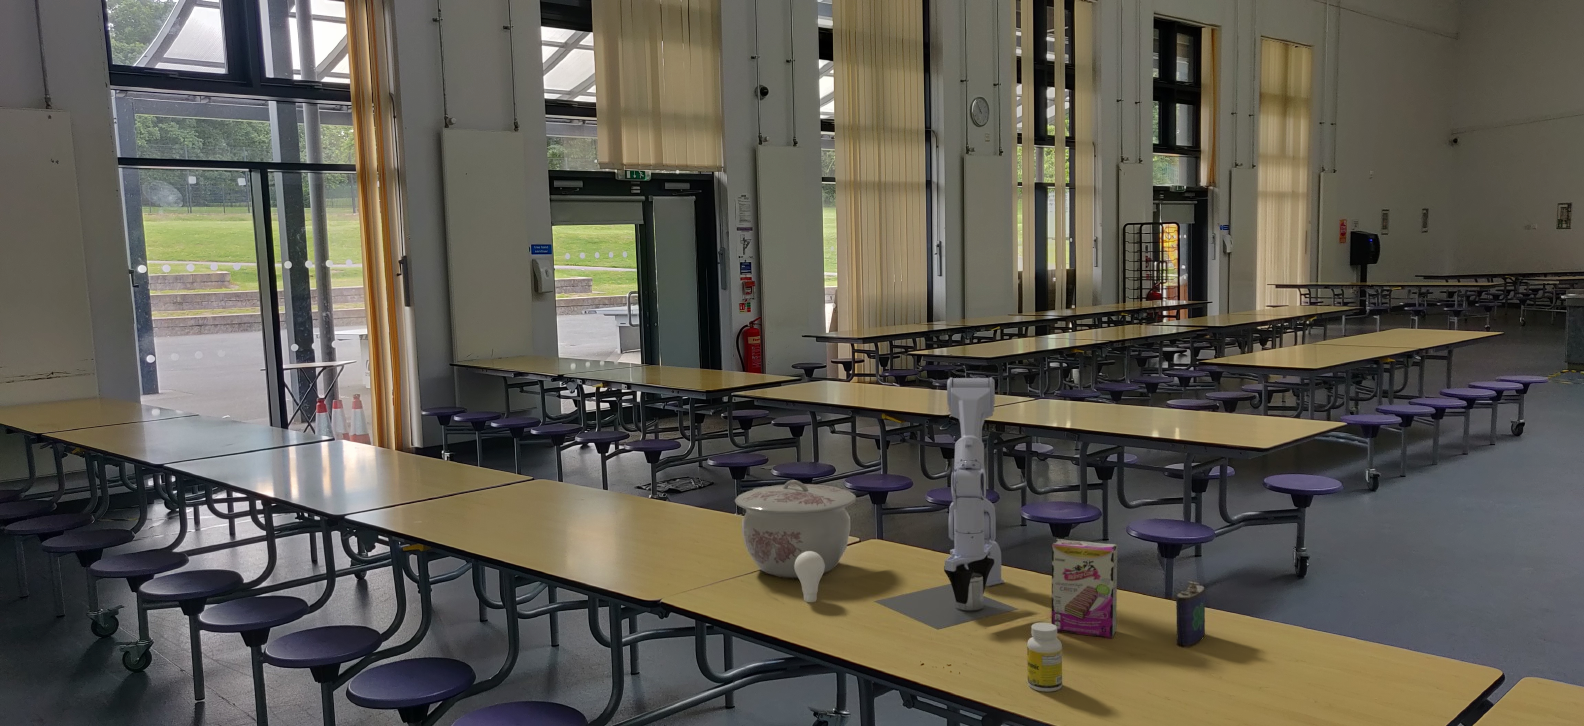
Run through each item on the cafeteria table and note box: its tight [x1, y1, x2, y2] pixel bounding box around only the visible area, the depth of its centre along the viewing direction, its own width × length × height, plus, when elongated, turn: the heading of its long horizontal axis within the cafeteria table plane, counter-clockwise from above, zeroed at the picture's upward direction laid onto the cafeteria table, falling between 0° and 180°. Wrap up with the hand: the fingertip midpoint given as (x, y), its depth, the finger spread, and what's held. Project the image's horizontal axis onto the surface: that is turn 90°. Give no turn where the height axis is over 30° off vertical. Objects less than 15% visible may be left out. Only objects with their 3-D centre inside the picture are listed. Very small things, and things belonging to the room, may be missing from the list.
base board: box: [873, 583, 1018, 630], centre depth 202 cm, size 20×20×1 cm
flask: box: [1175, 580, 1206, 649], centre depth 182 cm, size 9×3×11 cm, turn 138°
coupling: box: [955, 572, 984, 610], centre depth 200 cm, size 5×5×6 cm
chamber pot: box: [734, 479, 857, 579], centre depth 232 cm, size 28×28×21 cm
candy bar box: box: [1050, 538, 1118, 639], centre depth 188 cm, size 11×5×16 cm, turn 65°
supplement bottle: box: [1026, 622, 1063, 693], centre depth 164 cm, size 5×5×10 cm
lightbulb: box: [794, 551, 825, 603], centre depth 207 cm, size 6×6×11 cm
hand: (969, 598), depth 200 cm, fingers closed on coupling, 5 cm apart
